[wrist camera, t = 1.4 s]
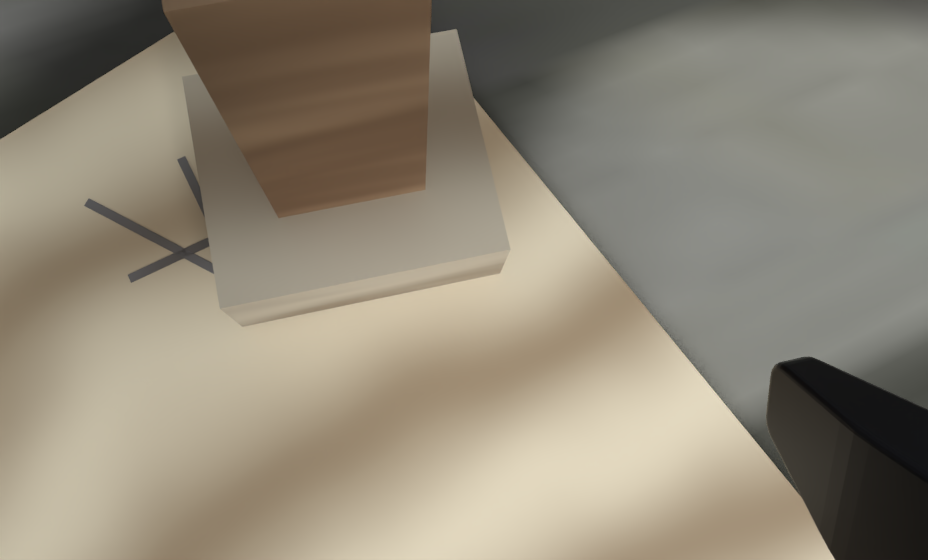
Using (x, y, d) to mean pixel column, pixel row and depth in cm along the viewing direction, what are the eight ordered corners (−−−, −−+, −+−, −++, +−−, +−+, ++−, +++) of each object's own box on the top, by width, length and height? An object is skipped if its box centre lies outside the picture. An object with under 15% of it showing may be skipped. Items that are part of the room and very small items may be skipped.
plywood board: (907, 655, 22) (943, 670, 20) (401, 1146, 19) (400, 1206, 17) (341, -39, 25) (336, -70, 24) (-158, 275, 22) (-199, 262, 21)
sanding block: (500, 273, 22) (588, 72, 11) (242, 326, 21) (45, 169, 10) (452, 75, 23) (486, -292, 12) (207, 118, 22) (-2, -228, 11)
